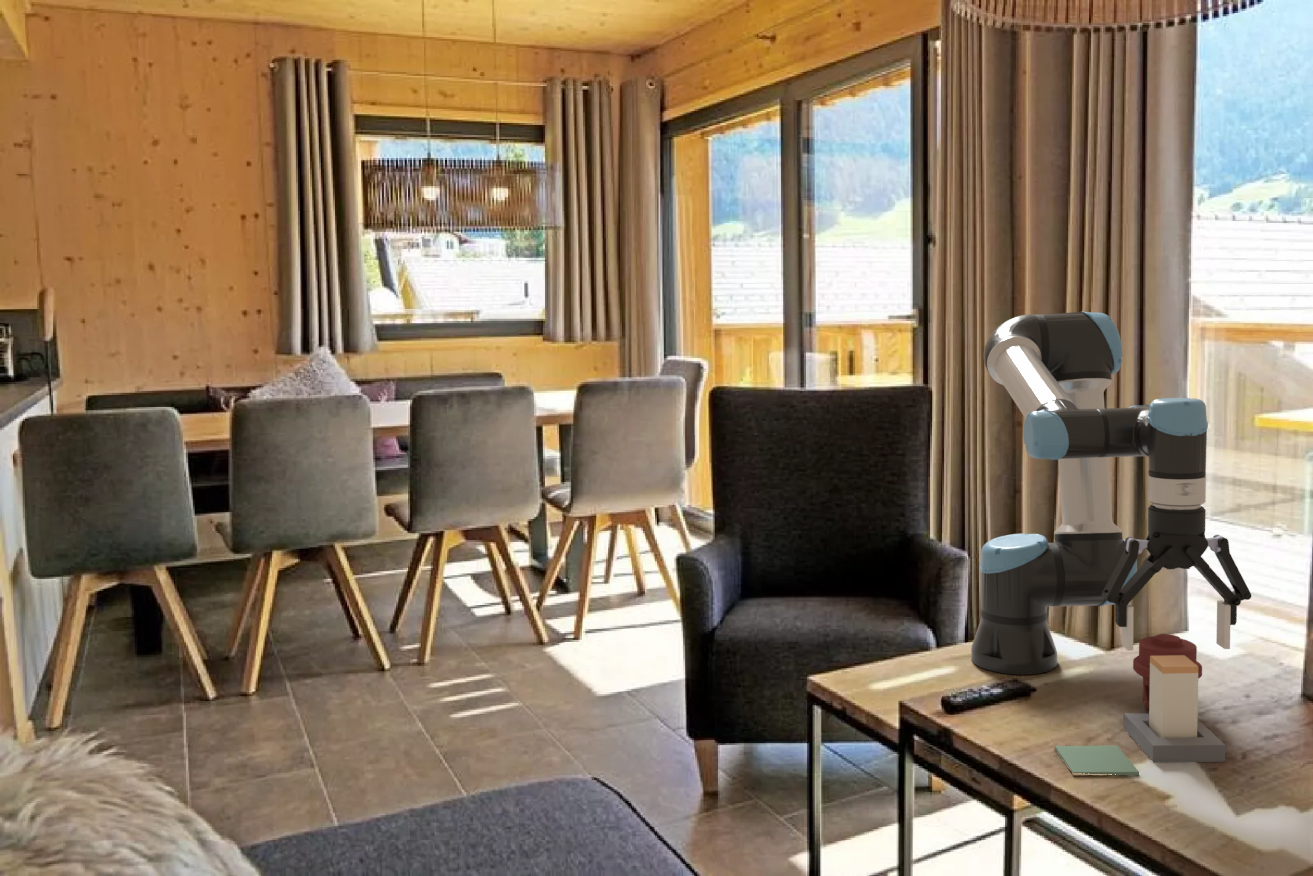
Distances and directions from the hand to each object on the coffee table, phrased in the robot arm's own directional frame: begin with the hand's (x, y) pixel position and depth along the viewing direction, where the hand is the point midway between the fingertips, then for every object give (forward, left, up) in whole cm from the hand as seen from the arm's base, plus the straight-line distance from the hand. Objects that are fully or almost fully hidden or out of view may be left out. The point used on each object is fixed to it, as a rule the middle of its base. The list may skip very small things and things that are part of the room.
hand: (1175, 647), depth 158 cm
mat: (+6, -13, -15) cm, 21 cm away
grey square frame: (0, 0, -15) cm, 15 cm away
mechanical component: (-13, +4, -15) cm, 21 cm away
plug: (0, 0, -15) cm, 15 cm away
